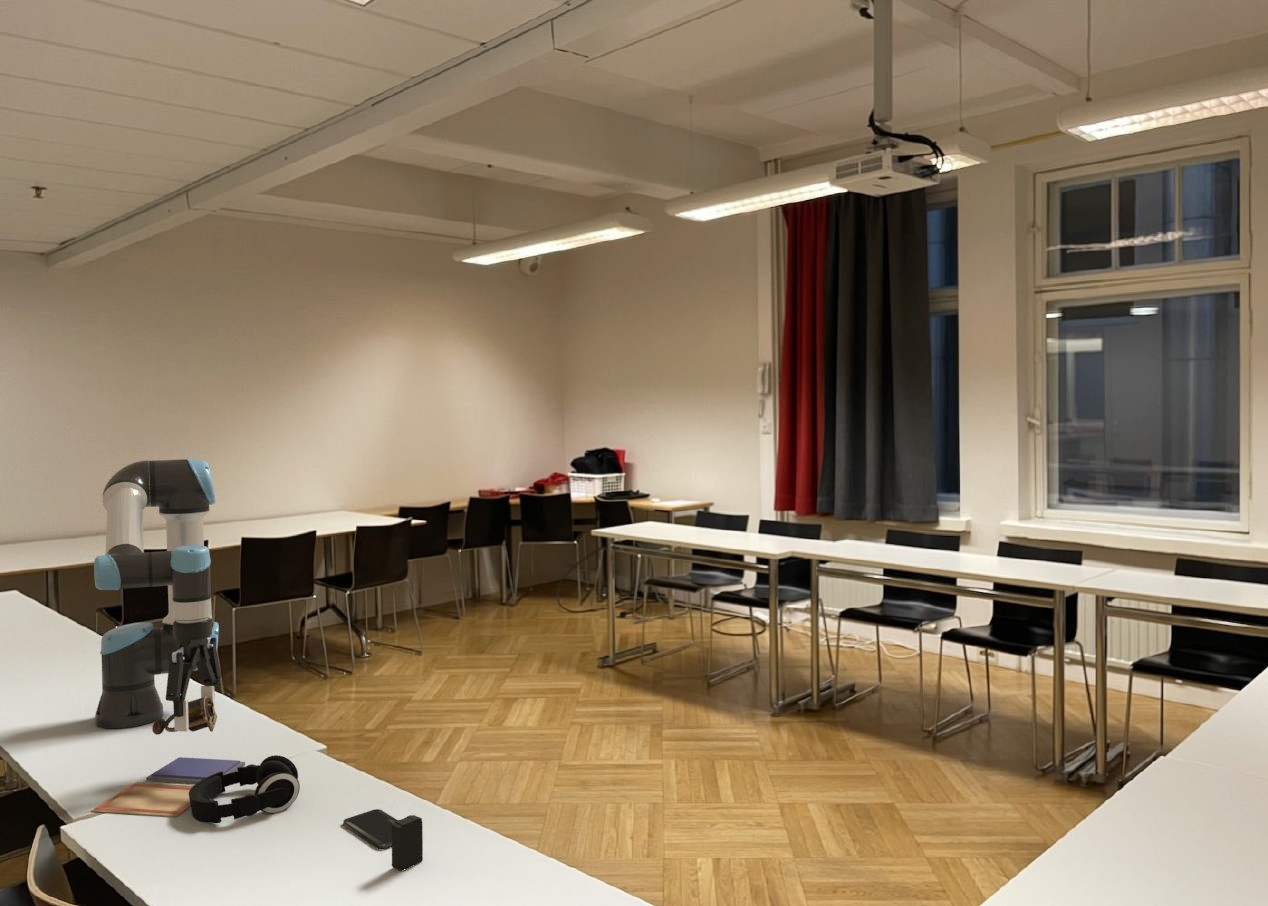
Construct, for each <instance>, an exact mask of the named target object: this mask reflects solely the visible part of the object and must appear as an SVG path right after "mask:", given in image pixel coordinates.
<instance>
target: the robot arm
mask: <svg viewBox="0 0 1268 906" xmlns="http://www.w3.org/2000/svg"><path fill="white" fill-rule="evenodd" d="M213 482H214V481H213V477H212V472H211V469H210V465H209V463H208V461H206V460H204V459H196V458H195V459H190V458H187V459H186V458H182V459H161V460H158V459H155V460H147V459H146V460H139V461H134V462H132V463H129V464H128V465H125V466H124V467H122V468H121V469H119V470H118V471H116V472H115V473H114V475H112V476H111V478H110V479H109V480H108V481H107V483H106V484H105V486H104V489H103V492H102V505H103V508H104V509H105V511H106V526H105V527H106V530H105V531H106V532H105V533H106V534H105V554H104V555H97V556H96V557H95V558H94V563H93V568H94V569H93V572H94V573H93V574H94V586H95V588H96V589H98V590H99V591H113V590H114V591H119V590H129V589H136V588H137V589H140V588H148V587H151V588H153V587H163V586H167V594H168V596H167V597H168V613H167V615H166V616H165V617H164V618H162V627H154V625H153V623H152V622H149V621H148V622H147V621H144V622H133V623H129V624H128V623H127V624H125V625H121V626H118V627H115V628H112V629H110V630H108V631H107V632H105V633H104V634H103V635H102V637H101V641H100V649H101V650H100V651H99V654H100V655H101V683H102V684H101V685H102V687H101V688H102V691H101V695H100V698H99V701H98V705H97V708H96V711H95V715H94V721H95V723H94V724H95V726H97V727H99V728H103V729H104V728H105V729H126V728H133V727H138V726H142V725H146V724H149V723H152V722H153V723H154V722H155V721H156V720H157V719H159V718H162V717H163V716H164V705H163V704H164V703H162V701H161V700H162V699H161V698H160V696H159V693H158V689H157V688H156V683H155V676H156V675H157V676H158V675H165V674H167V682H166V690H165V691H166V692H165V701H169V702H172V703H173V705H172V706H173V708H172V709H173V714H174V719H173V720H174V721H173V723H174V724H173V725H174V726H173V727H175V731H177V732H188V731H190V730H189V722H188V702H189V699H186V697H187V692H188V688H189V684H190V680H191V677H192V676H191V675H192V671H193V672H196V671H198V674H199V675H200V678H201V681H202V683H203V685H202V686H200V698H203V697H205V696H207V697H209V698H210V699H211V700H212V701H213V704H214V709H215V710H216V697H215V696H216V695H215V689H216V688H215V686H219V685H220V683H221V682H220V680H221V678H222V676H221V669H220V668H221V666H220V662H219V656H218V645H219V644H218V643H219V632H220V631H219V629H220V628H219V627H220V626H219V623H218V622H216V621H213V614H212V613H213V612H212V611H213V609H212V594H211V562H212V560H211V556H210V549H209V547H208V546H205V537H204V518H205V517H206V516H207V515H208V514H209V513H210V505H214V504H215V503H216V497H215V488H214V483H213ZM153 507H156V508H158V514H159V515H160V516H161V517H162V518H163V519H164V520H165V527H166V529H165V530H166V550H165V551H150V552H145V549H144V547H145V545H144V543H145V542H144V509H145V508H153Z"/></svg>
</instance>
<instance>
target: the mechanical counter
mask: <svg viewBox="0 0 1268 906" xmlns="http://www.w3.org/2000/svg"><path fill="white" fill-rule="evenodd" d="M173 720H174V713H173V714H171V715H170V716H169V717H168V718H167V719H165V718H162V717H161V718H159V719H157V720H155V721H153V724H152V726H151V727H152V728H151V730H152V732H153V734H154V735H157V736H158V735H161V734H162V733H163V732H164V730H165V731H166V732H168V733H169V732H170V733H176V732H178V731H175V726H173V727H170V726H169V725H170V723H171V722H173ZM217 720H218V715H217V713H216V708H215V709H214V704H213V701H212V700H211V699H210V698H209V697H207V696H205V697H203V698H201V697H200V698H197V699H194V700H191V701H188V722H189V730H188V731H190V732H192V733H193V732H197V731H199V730H203V729H205V728H208V729H209V731H210V732H212V733H213V731H214V729H215V726H216V723H217Z"/></svg>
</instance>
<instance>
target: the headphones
mask: <svg viewBox="0 0 1268 906" xmlns="http://www.w3.org/2000/svg"><path fill="white" fill-rule="evenodd" d="M237 769H238V770H237V771H236V772H232V773H229V774H225V775H223V772H222V771H220V772H218V773H215V774H213V775H210V776H208V777H206V778H204V779H202V780H201V781H199V782H198V783H196V784H194V785H192V786H193V787H192V788H191V789H190V791H189V799H190V806H191V807H190V810H191V811H190V812H191V816H192V818H193V819H194V820H195V821H197V822H199V823H204V824H221V822H222V818H224V819H225V818H230V817H233V820H234V821H235V820H238V819H240V818H244V817H251V816H255V815H256V814H257V813H258V812H260V811H261V812H263V814H264V813H265V814H268V815H269V814H270V815H273V814H277V813H281V812H283V811H286V810H287V809H288V808H290V807H291V806H292V805H293V804H294V802H295V801H296V800H297V798H298V795H299V793H300V786H301V785H300V781H299V772H298V769H297V767H296V765H295V763H294V762H292V761H291V760H290V759H289V758H288V757H285V756H282V755H278V754H277V755H276V754H274V755H270V756H267V757H266V758H264V759H263V760H262V761H261V762H260V764H259V765H256V764H248V765H245V766H243V767H237ZM235 784H236V785H237V784H239V787H242V786H243V787H244V786H246V785H247V786H248V785H249V786H250V785H251V786H252V785H256V784H257V786H256V788H255V790H254V793H248V794H245V795H243V796H242V797H236V798H231V799H230V801H231V803H224V804H219V801H218V800H215V799H212V798H214V797H216V796H218V795H220V794H223V793H225V792H226V787H228V786H230V787H231V786H233V785H235Z"/></svg>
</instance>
